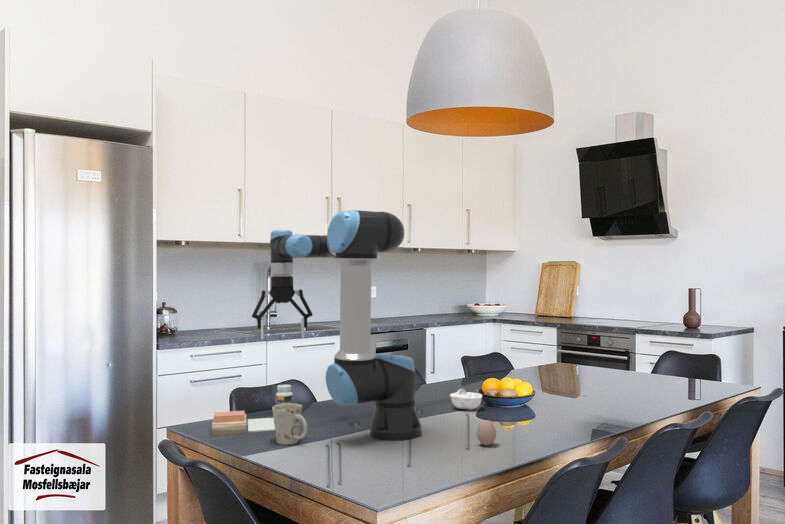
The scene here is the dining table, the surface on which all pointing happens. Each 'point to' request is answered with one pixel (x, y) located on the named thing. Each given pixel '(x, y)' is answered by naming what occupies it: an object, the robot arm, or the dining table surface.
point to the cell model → (466, 399)
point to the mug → (288, 423)
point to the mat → (261, 425)
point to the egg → (486, 433)
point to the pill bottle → (284, 394)
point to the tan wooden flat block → (229, 428)
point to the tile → (229, 416)
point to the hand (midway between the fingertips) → (282, 338)
